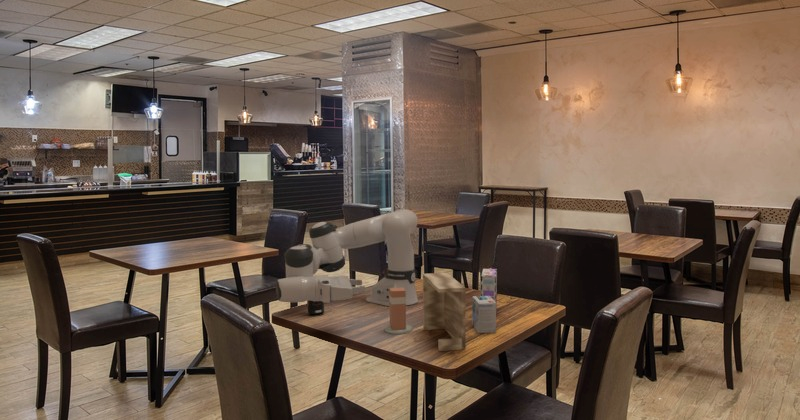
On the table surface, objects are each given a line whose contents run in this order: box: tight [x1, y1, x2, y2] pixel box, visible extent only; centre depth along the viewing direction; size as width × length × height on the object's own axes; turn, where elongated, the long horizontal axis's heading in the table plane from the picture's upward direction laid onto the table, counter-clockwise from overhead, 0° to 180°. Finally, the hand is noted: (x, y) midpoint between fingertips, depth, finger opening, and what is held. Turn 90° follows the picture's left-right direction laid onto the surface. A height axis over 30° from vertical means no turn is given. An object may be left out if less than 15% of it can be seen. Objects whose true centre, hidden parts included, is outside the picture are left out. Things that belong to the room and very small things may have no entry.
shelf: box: [422, 272, 467, 352], centre depth 193 cm, size 9×23×20 cm, turn 10°
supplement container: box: [306, 300, 325, 316], centre depth 225 cm, size 7×7×10 cm
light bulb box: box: [471, 295, 497, 334], centre depth 204 cm, size 11×7×11 cm, turn 5°
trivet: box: [383, 323, 413, 335], centre depth 204 cm, size 10×10×1 cm
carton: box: [389, 287, 407, 330], centre depth 203 cm, size 5×5×14 cm
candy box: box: [480, 268, 498, 310], centre depth 224 cm, size 14×6×16 cm, turn 168°
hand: (363, 285), depth 199 cm, fingers open, 8 cm apart
